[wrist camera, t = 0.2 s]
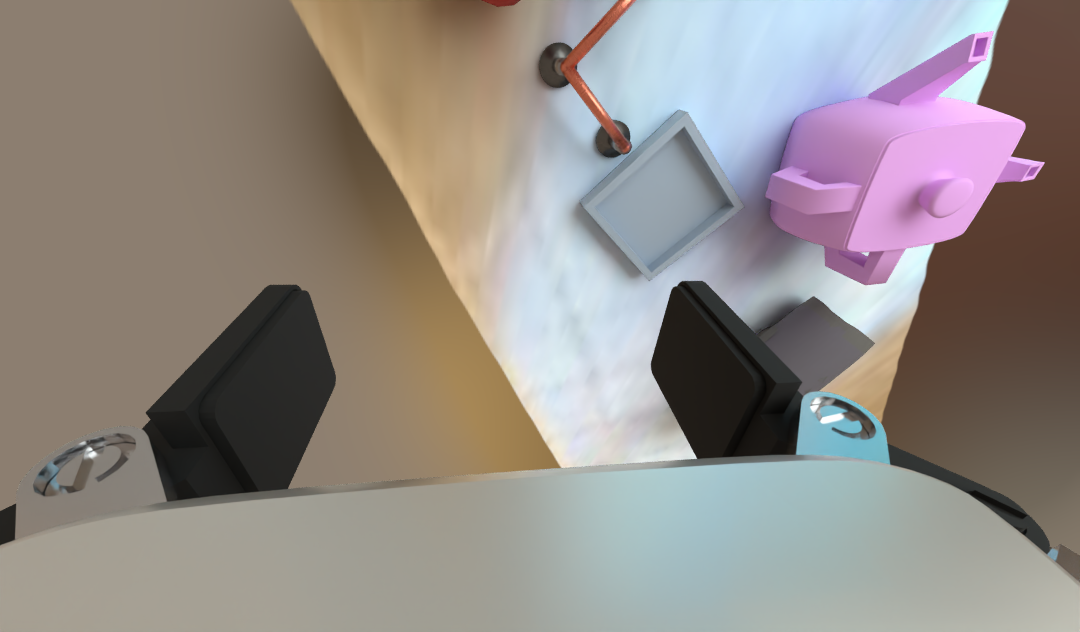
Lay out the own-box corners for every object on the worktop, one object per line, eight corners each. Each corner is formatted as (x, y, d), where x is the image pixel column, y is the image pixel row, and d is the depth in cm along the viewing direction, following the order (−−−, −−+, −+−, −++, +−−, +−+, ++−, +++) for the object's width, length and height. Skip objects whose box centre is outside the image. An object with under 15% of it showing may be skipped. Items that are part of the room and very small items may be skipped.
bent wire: (594, -214, 24) (613, -262, 21) (726, 53, 34) (756, 53, 30) (458, -30, 28) (454, -42, 25) (609, 163, 38) (622, 175, 34)
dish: (678, 109, 36) (687, 112, 34) (734, 201, 42) (744, 207, 40) (579, 201, 40) (583, 207, 38) (643, 273, 45) (649, 281, 44)
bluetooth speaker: (707, 412, 62) (741, 466, 54) (668, 393, 58) (697, 448, 50) (830, 310, 52) (894, 358, 44) (792, 280, 49) (854, 326, 41)
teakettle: (729, 178, 40) (811, 220, 30) (885, 21, 34) (1057, 8, 24) (804, 263, 48) (891, 320, 37) (945, 148, 41) (1095, 179, 31)
